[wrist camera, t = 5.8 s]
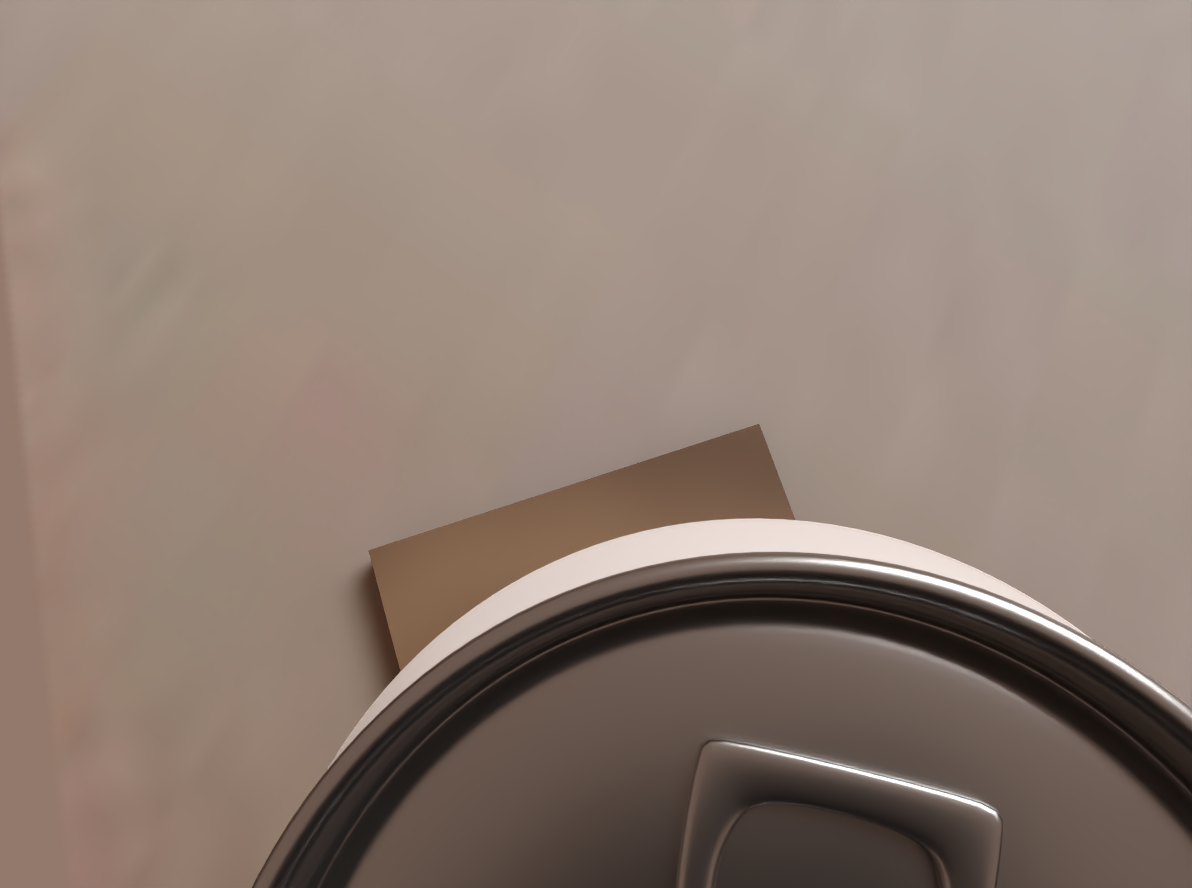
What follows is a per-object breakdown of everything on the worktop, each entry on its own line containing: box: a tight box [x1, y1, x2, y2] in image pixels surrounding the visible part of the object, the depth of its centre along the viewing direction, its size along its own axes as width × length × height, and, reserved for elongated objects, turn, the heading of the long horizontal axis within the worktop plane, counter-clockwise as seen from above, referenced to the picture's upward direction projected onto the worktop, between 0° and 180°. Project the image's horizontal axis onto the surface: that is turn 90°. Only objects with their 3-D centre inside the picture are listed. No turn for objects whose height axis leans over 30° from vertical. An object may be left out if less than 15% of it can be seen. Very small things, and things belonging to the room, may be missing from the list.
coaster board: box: [369, 424, 795, 672], centre depth 21 cm, size 13×10×1 cm
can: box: [252, 518, 1192, 888], centre depth 10 cm, size 6×6×12 cm
